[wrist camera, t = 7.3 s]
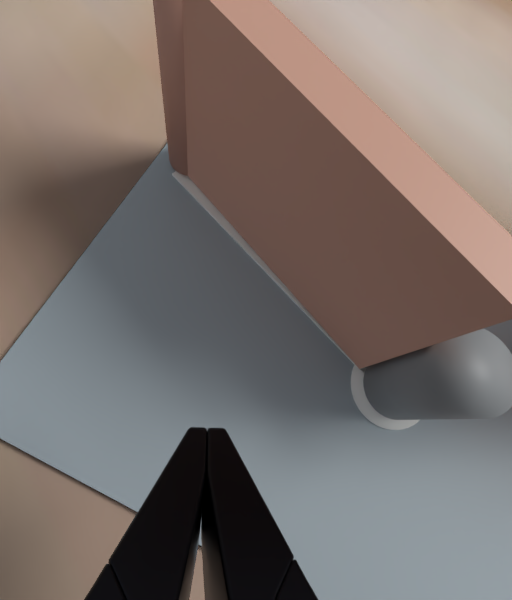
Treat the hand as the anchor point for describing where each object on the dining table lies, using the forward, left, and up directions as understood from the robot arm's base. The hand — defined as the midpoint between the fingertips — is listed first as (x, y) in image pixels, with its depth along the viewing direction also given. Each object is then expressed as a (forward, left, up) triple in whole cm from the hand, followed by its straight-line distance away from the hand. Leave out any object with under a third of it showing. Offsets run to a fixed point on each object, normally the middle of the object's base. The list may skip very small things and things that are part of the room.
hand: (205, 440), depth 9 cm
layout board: (+4, -4, -6) cm, 9 cm away
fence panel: (+8, 0, -6) cm, 10 cm away
